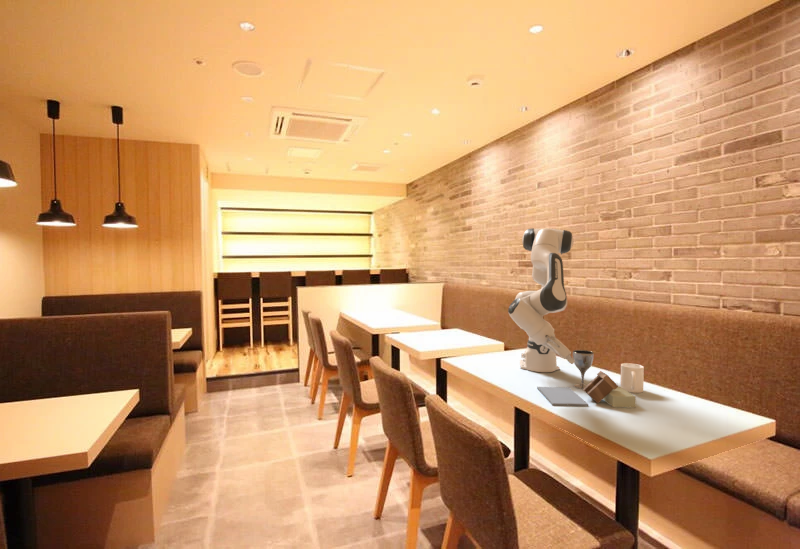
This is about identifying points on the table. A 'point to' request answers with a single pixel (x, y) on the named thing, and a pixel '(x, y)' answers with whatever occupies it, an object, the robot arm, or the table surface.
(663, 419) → the table surface
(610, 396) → the pale olive rectangular block
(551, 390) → the mat
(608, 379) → the stool
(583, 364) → the wine glass
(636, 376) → the mug
